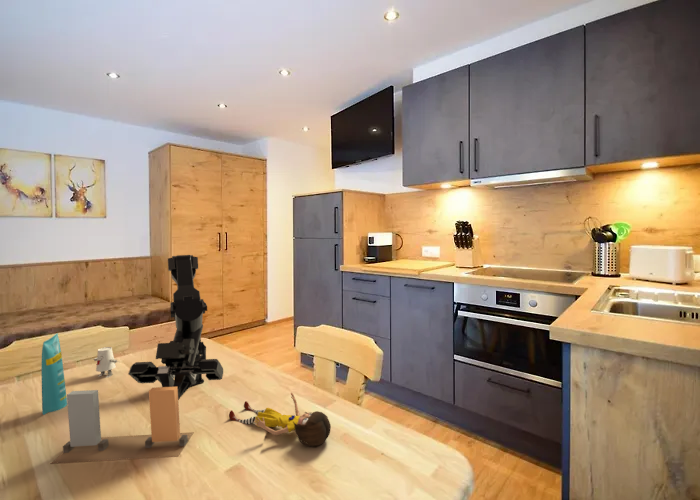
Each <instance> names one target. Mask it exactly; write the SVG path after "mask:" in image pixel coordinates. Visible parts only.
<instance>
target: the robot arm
mask: <svg viewBox="0 0 700 500" xmlns="http://www.w3.org/2000/svg"><path fill="white" fill-rule="evenodd" d="M167 270H168V272H170V275H171V277H170V278H171V279H172V280H173V282H174V283H175V284H176V286H177V289H176V290H175V291H174V292H173V293H172V297H173V299H172V300H173V301H171V302H170V318H174V321H175V327H176V329H175V334H174V336H173V340H170V342H159V343H157V346H156V353H155V354H156V355H155V360H159V359H160V360H161V361H160V362H161V363H162V365H159V366H156V365H155V364H154V362H152V361H137V362H134V363H133V364H132V365H131V366H130V367H129V371H128V375H129V376H130V377H131V378H132V379H134V381H136V382H137V383H138V384H154V383H155V382H157V381H158V382H159V383H160V384H161V387H177V388H178V401H180V399H181V398H182V397H183V395H184V394H185V393H186V392H187V391H188V389H190V387H193V386H195V385H196V386H197V385H199V384H202V383H205V379H204V378H203V377H202V376H203V375H205V377H206V379H207V380H208V381H220V380H222V379H223V375H224V367H223V365H222V363H221V362H220V361H219V359H218V358H207V346H206V345H205V343H204V341H202V338H201V336H202V334H203V333H202V332H203V328H204V325H203V317H204V316H203V314H206V311H207V312H208V304H207V302H205V300H204V298H201V292H200V290H198V289H197V288H196V287H195V285H194V284H195V283H194V282H195V281H194V279H195V277H196V275H197V274H196V273H197V270H199V257H198V256H194V255H193V254H181V255H179V254H177V255H172V257H169V258H167Z"/></svg>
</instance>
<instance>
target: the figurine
mask: <svg viewBox="0 0 700 500" xmlns="http://www.w3.org/2000/svg"><path fill="white" fill-rule="evenodd" d="M290 397H291V400H292V401H293V404H294V408H295V409H294V412H295V413H294V414H295V415H292V414H282V413H280V412H278V411H276V410H275V409H273V408H270V407H266V408H265V409H259V410H258V409H255V408H254V409H253V408H252V407H251V405H250V404H249V401H245V402H244V403H243V408H244V410H246V411H249V412H253V413H255V414H256V415H257V416H251V417H249V418H245V419H240V418H237V416H236V415H235V411H233V410H229V413H228V418H229V420H230V421H233V422H234V421H235V422H239V423H242V424H245V425H251V424H253V423H254V425H255V426H256V427H258V428H262V429H263V430H266V431H267V432H269V433H270V434H272V435H273V436H278V435H282V434H286V433H291V432H295V435H296V437H297V439H298V442H299V443H301V444H302V445H304V446H307V447H313V448H315V447H316V448H317V447H319V446H321V445H323V444H324V443H325V442H326V441H327V439H328V438H329V436H330V433H331V428H332V427H331V422H330V419H329V417H328V416H327V414H325V412H322V411H319V410H317V411H313V412H311V411H308V412H307V411H305V412H304V413H303V414H301V413H300V411H299V407H298V403H297V400H296V397H295V396H294V394H293V392H290ZM300 414H301V415H300ZM276 427H278V428H279V427H280V428H281V429H278V430H274V429H272V428H276Z"/></svg>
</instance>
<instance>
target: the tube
mask: <svg viewBox="0 0 700 500" xmlns="http://www.w3.org/2000/svg"><path fill="white" fill-rule="evenodd" d="M62 354H63V353H62V350H61V344H60V339H59V333H58V332H57V333H55V334H54V335H53V336H52V337H50V338H48V339H47V340H44V341H43V342H42V347H41V409H42V410H41V412H42V415H43V416H46V414H48V413H53V412H57V411H59V410H62V409H64V408H65V407H66V406H68V404H67V391H66V390H67V388H66V380H65V372H64V371H65V370H64V364H63V363H64V362H63V356H62Z"/></svg>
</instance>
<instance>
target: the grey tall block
mask: <svg viewBox="0 0 700 500" xmlns="http://www.w3.org/2000/svg"><path fill="white" fill-rule="evenodd" d="M66 397H67V415H68V417H67V418H68V430H69V441H70V446H71V447H74V446H91V445H97V444H98V443H99V442H100V441H101V437H102V430H101V420H100V419H101V415H100V402H99V400H100V399H99V389H94V390H93V389H91V390H89V389H88V390H72V391H70V392H69V393H66Z"/></svg>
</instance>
